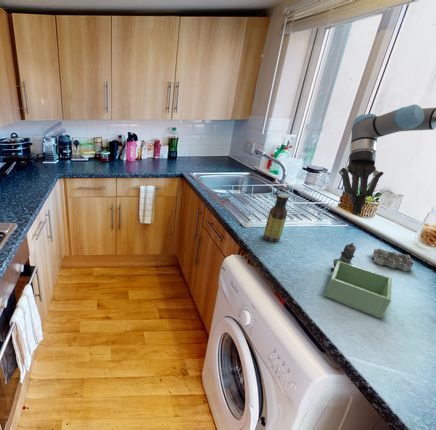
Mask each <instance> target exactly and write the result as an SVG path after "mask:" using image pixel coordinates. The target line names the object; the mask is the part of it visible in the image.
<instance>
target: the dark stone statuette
mask: <svg viewBox="0 0 436 430" xmlns="http://www.w3.org/2000/svg"><path fill="white" fill-rule="evenodd" d="M356 250H357V248H356V246H355V245H354V242H351V243H350V244H345V246H344V248H343V250H342V251H341V252H340V257H339V258H335V259H333V260H332V261H333V267H331V268H330V271H331V272H332V273H333V271H334V269H335V266H336V264H337V262H338V261H341V262H344V263H347V264H350V265H353V266H355V265H354V264H353V263H352V260H353V258H355V255H354V254H355V252H356Z"/></svg>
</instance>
